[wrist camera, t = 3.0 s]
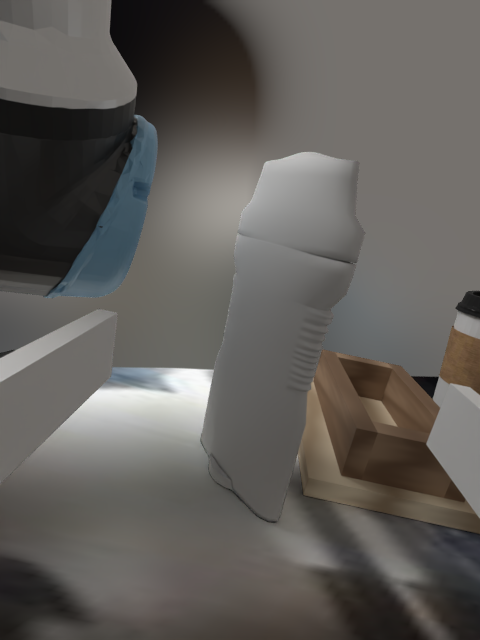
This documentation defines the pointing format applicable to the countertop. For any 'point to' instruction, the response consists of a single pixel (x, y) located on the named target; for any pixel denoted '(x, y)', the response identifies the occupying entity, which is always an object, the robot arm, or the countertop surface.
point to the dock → (376, 444)
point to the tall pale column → (279, 322)
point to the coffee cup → (462, 349)
